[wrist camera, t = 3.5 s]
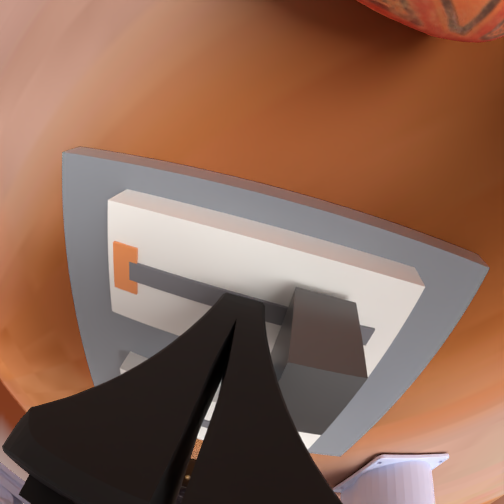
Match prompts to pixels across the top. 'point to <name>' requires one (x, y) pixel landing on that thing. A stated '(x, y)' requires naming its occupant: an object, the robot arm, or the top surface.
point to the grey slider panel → (250, 271)
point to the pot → (447, 17)
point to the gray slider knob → (319, 359)
